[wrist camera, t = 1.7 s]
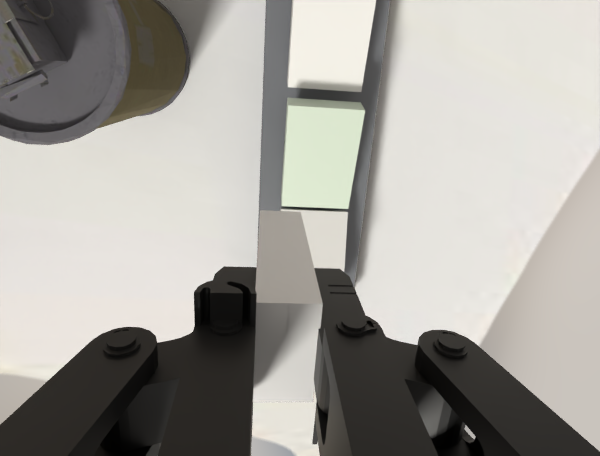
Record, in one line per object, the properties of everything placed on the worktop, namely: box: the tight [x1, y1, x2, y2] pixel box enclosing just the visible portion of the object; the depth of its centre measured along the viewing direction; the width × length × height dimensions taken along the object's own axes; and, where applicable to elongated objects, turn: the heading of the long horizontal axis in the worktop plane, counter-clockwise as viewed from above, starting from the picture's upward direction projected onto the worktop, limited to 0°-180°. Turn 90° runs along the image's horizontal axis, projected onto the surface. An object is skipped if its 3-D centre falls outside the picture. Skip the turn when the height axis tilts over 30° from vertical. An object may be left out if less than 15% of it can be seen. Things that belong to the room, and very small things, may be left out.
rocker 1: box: [287, 0, 376, 92], centre depth 32 cm, size 6×9×2 cm, turn 176°
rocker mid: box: [281, 98, 365, 209], centre depth 35 cm, size 6×9×2 cm, turn 176°
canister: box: [0, 0, 189, 145], centre depth 27 cm, size 11×10×20 cm
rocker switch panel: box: [257, 0, 391, 289], centre depth 38 cm, size 10×34×5 cm, turn 176°
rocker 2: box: [280, 208, 348, 272], centre depth 38 cm, size 6×9×2 cm, turn 176°
